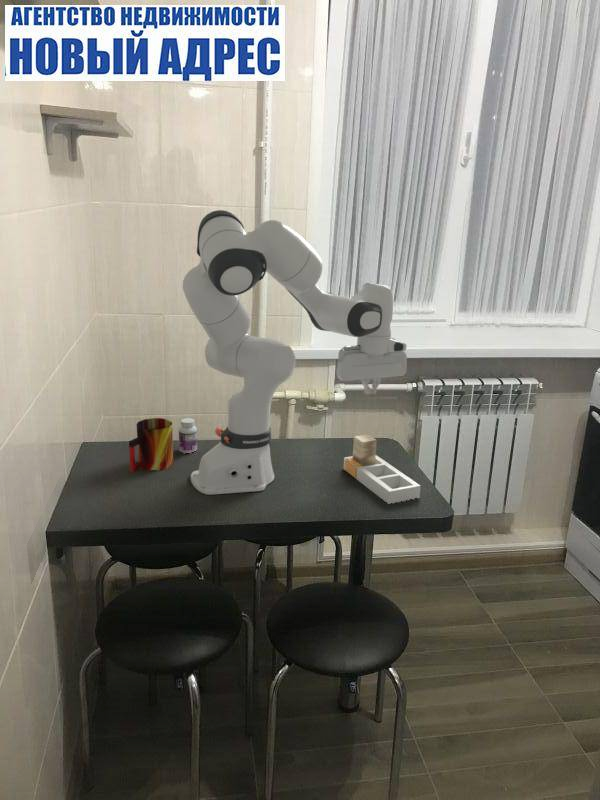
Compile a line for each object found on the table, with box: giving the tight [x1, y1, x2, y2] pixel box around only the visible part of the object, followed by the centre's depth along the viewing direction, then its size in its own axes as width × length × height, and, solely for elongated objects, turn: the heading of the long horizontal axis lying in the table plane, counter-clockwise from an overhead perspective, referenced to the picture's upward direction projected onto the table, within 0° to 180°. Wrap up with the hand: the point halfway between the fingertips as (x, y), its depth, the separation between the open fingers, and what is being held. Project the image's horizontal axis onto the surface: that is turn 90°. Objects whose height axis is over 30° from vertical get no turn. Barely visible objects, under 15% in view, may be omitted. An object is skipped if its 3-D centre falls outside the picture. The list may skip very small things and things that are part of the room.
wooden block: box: [352, 434, 378, 467], centre depth 179 cm, size 5×5×10 cm
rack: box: [343, 454, 421, 505], centre depth 173 cm, size 10×24×4 cm, turn 25°
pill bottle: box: [178, 417, 198, 454], centre depth 189 cm, size 5×5×10 cm
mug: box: [128, 417, 174, 473], centre depth 177 cm, size 10×14×12 cm
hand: (370, 393), depth 175 cm, fingers closed
